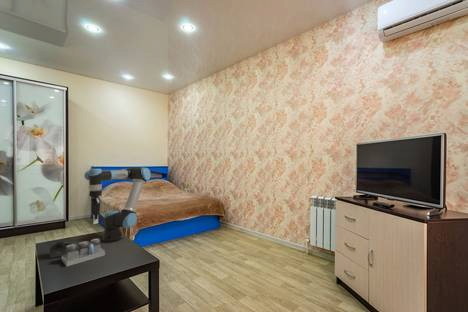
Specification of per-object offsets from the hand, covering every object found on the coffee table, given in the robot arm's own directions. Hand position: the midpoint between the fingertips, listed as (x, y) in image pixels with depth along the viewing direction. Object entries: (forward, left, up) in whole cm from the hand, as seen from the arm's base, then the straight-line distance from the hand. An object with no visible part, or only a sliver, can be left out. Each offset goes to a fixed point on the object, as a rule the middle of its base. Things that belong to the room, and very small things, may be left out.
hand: (95, 223), depth 158 cm
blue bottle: (+4, +5, -19) cm, 20 cm away
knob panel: (+7, 0, -22) cm, 23 cm away
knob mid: (+7, 0, -19) cm, 20 cm away
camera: (+17, -17, -22) cm, 33 cm away
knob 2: (0, 0, -19) cm, 19 cm away
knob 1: (+14, 0, -19) cm, 23 cm away
